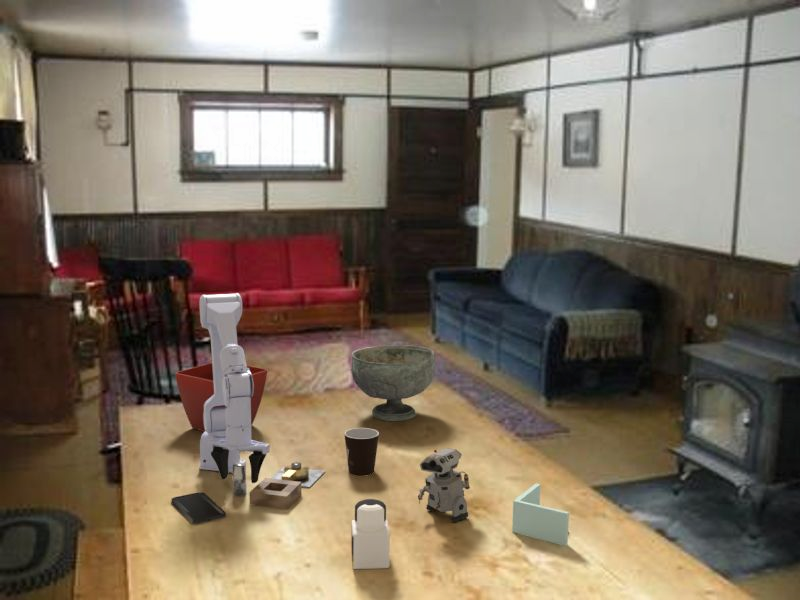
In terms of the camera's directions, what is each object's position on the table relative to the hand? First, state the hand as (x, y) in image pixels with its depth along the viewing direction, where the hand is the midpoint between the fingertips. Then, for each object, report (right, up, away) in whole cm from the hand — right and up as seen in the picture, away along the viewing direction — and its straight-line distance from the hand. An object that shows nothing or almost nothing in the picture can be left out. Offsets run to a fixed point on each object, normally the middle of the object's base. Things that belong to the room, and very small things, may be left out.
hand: (239, 480), depth 200 cm
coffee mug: (+28, -1, +17) cm, 33 cm away
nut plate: (+12, -2, +11) cm, 16 cm away
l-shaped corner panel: (+70, -8, -16) cm, 72 cm away
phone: (-8, -5, -9) cm, 13 cm away
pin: (0, -3, +1) cm, 3 cm away
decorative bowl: (+35, +7, +63) cm, 72 cm away
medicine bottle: (+32, -9, -32) cm, 46 cm away
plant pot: (-14, +5, +49) cm, 51 cm away
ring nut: (+11, -1, +9) cm, 15 cm away
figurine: (+46, -6, -11) cm, 48 cm away
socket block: (+9, -4, -3) cm, 10 cm away
